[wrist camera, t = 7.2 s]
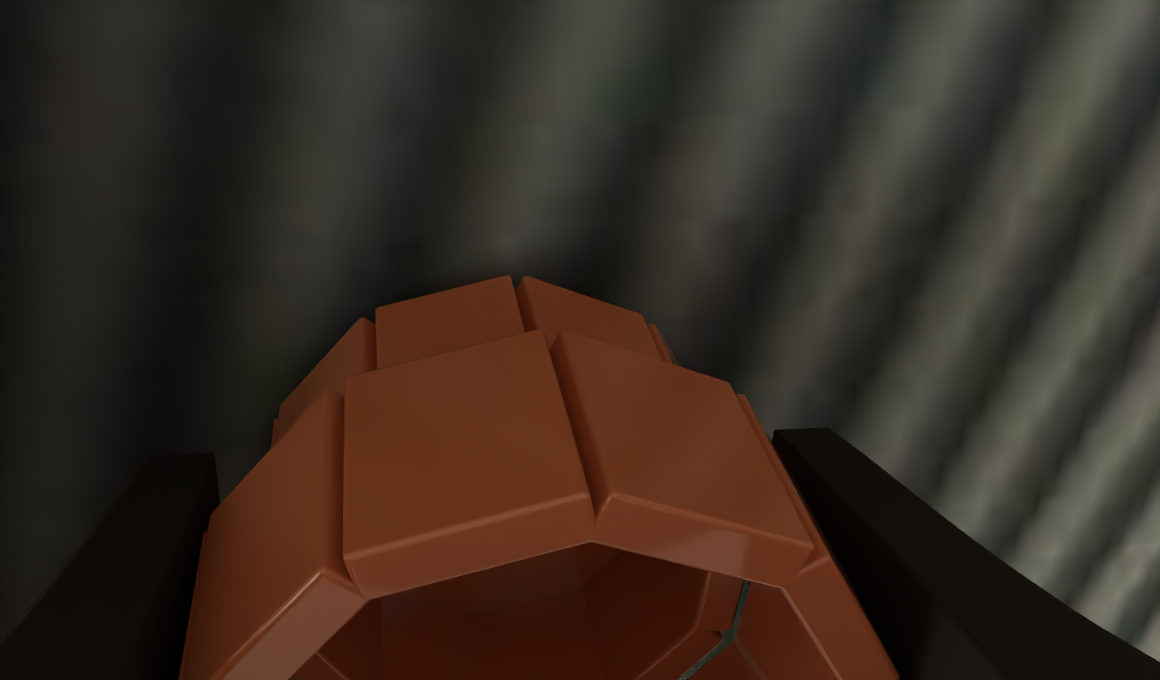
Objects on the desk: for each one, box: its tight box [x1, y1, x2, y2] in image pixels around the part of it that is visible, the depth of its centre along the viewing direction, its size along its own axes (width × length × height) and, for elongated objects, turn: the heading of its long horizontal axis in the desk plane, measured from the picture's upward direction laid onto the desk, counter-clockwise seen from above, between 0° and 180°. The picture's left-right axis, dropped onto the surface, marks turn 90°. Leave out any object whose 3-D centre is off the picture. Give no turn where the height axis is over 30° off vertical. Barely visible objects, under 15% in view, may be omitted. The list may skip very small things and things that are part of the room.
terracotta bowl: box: [178, 275, 899, 680], centre depth 11 cm, size 6×6×4 cm
